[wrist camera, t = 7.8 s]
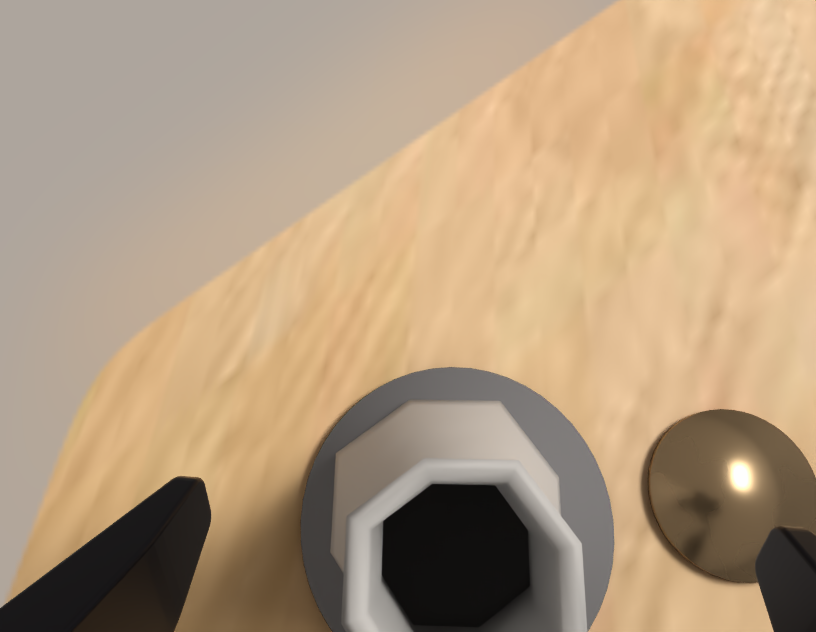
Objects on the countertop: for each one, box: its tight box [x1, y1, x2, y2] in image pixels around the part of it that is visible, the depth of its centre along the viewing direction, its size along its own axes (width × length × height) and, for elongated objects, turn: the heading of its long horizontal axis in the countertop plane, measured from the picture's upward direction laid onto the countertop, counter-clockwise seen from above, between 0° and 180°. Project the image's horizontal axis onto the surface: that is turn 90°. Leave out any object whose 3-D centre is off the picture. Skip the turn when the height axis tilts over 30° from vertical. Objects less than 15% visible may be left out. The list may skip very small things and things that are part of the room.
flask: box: [330, 399, 587, 632], centre depth 11 cm, size 7×7×10 cm
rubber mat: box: [301, 367, 614, 632], centre depth 16 cm, size 10×10×1 cm
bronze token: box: [648, 409, 816, 583], centre depth 16 cm, size 5×5×1 cm
